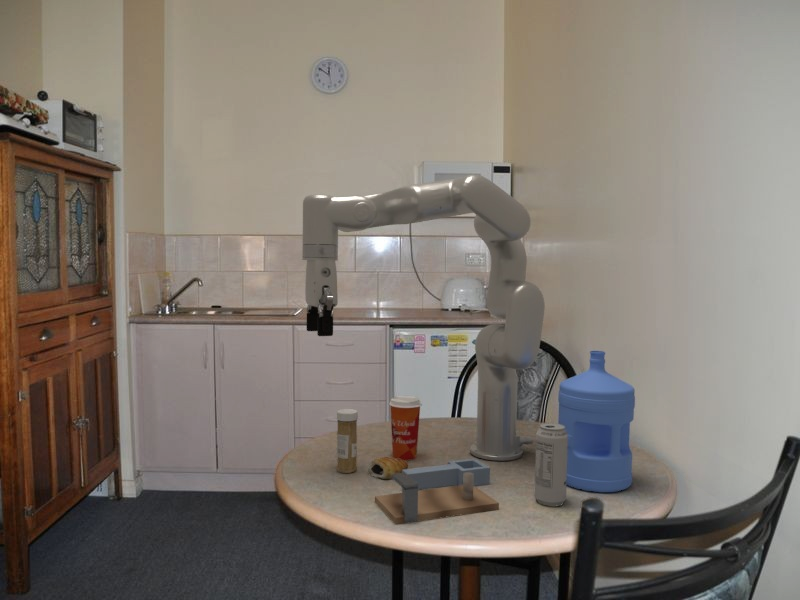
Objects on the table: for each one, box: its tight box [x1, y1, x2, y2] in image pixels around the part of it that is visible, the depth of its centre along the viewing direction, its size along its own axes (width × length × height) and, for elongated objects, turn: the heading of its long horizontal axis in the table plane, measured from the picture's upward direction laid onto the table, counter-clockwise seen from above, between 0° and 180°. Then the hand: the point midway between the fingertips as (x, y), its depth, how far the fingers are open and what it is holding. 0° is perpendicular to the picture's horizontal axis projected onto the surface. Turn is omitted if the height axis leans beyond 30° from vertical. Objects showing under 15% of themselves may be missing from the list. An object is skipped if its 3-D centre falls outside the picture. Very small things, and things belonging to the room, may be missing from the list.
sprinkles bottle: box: [336, 408, 359, 474], centre depth 141 cm, size 5×5×13 cm
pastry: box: [367, 456, 409, 480], centre depth 140 cm, size 9×7×4 cm
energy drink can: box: [534, 422, 568, 507], centre depth 124 cm, size 6×6×15 cm
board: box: [374, 472, 500, 525], centre depth 122 cm, size 21×11×6 cm, turn 112°
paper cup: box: [388, 395, 423, 461], centre depth 152 cm, size 8×8×14 cm
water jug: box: [557, 350, 636, 493], centre depth 136 cm, size 16×16×28 cm
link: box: [402, 458, 491, 491], centre depth 134 cm, size 18×7×4 cm, turn 112°
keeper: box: [392, 473, 419, 524], centre depth 117 cm, size 2×7×7 cm, turn 22°
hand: (319, 333), depth 137 cm, fingers open, 9 cm apart
